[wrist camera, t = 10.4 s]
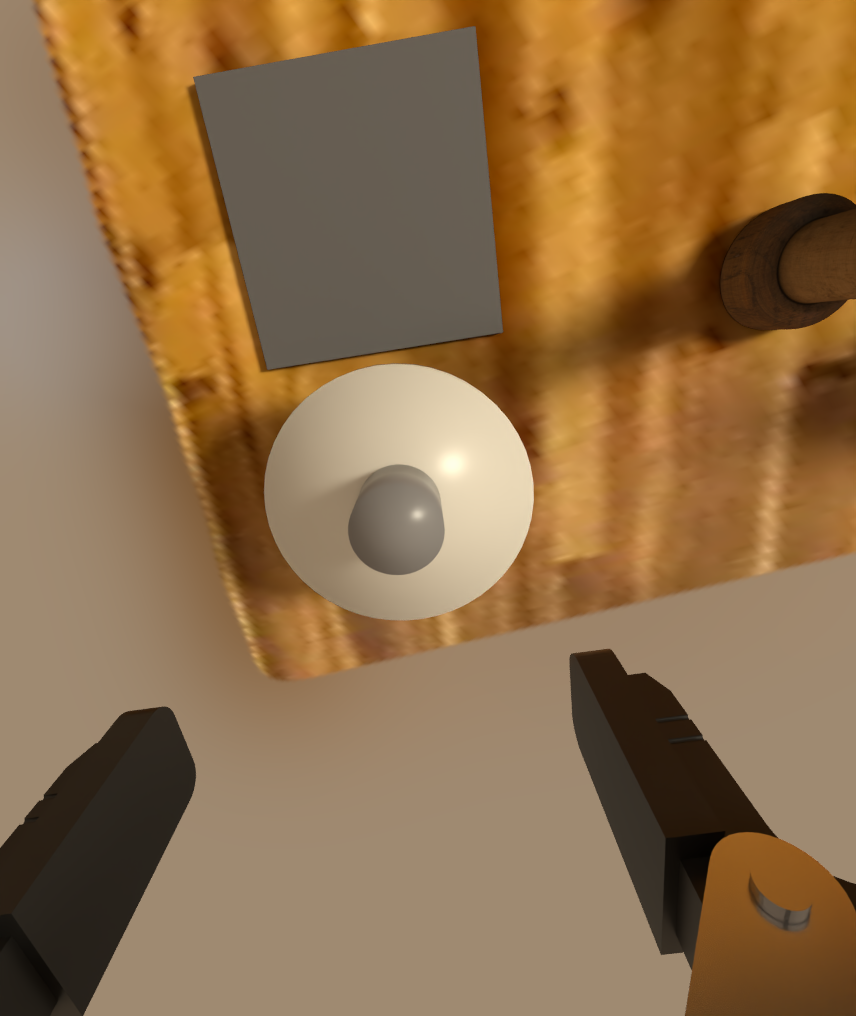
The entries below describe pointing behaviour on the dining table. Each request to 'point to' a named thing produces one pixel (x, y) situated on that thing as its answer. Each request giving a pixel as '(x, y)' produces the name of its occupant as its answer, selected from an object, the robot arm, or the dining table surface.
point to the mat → (359, 196)
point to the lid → (398, 492)
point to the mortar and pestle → (792, 264)
